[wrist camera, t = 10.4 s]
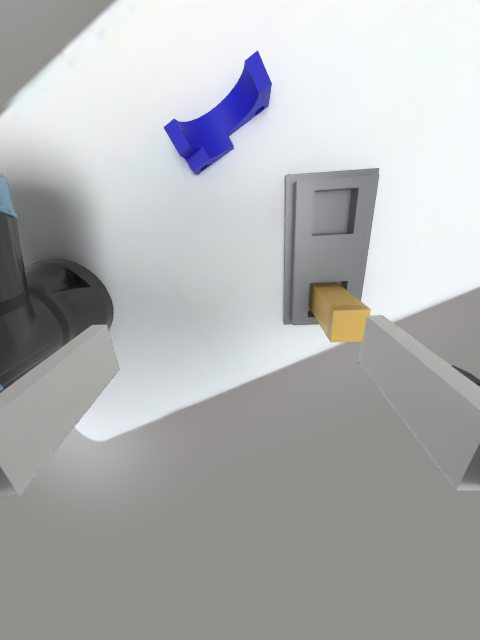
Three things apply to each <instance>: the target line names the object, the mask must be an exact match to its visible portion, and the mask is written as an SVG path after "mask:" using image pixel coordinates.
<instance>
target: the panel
mask: <svg viewBox="0 0 480 640" xmlns="http://www.w3.org/2000/svg"><path fill="white" fill-rule="evenodd" d="M378 174H379V168H376V169H362V170H348V171H334V172H320V173H307V174H293V175H286V182H285V253H284V325H287V324H292V325H313V324H319V323H318V321H317V319H316V318H315V316H314V314H313V313H312V311H311V309H310V308H309V299H310V283H325V282H337V283H338V284H340V285H341V286H342V287H343V288H345V289H346V290H347V291H348V292H350V293H351V294H352V295H353V296H355V297H356V298H357V299H358V300H360V301H361V297H362V290H363V283H364V276H365V269H366V262H367V255H368V249H369V242H370V235H371V228H372V221H373V214H374V207H375V200H376V193H377V186H378V179H379V175H378Z"/></svg>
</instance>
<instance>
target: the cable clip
mask: <svg viewBox="0 0 480 640" xmlns="http://www.w3.org/2000/svg"><path fill="white" fill-rule="evenodd" d="M271 85H272V83H271V81H270V78H269V76H268V74H267V71H266V69H265V67H264V64H263V62H262V59H261V57H260V55H259V52H258V51H256V52H255V53H254V54H253V55H251V56H250V57H249V58H248V59H247V60H245V65H244V69H243V72H242V75H241V77H240V79H239V81H238V82H237V84H236V85H235V87H234V88H233V89H232V91H231V92H230V93H229V94H228V95H227V96H226V98H225V99H224V100H223V101H222V102H221V103H219V104H218V105H217V106H216V107H215V108H213V109H212V110H211V111H209V112H208V113H206V114H205V115H203V116H201V117H199V118H197V119H195V120H192V121H188V122H179V121H177V120H175V119H173V120H172V121H171V122H169V123H168V124H167V125H166V126H165V127H164V129H165V130H166V132H167V134H168V136H169V137H170V139H171V141H172V142H173V144H174V146H175V148H176V149H177V151H178V153H179V154H180V155H181V156H182V157H183V158H184V159H186V161H187V163H188V164H189V166H190V168H191V170H192V171H193V172H194V173H195V174H197V175H198V174H199V173H200V172H202V171H203V170H204V169H206V168H207V167H209V166H210V165H211V164H213V163H214V162H215V161H217V160H218V159H220V158H221V157H222V156H224V155H225V154H226V153H228V152H229V151H231V150H232V149H233V148H234V147H233V144H232V142H231V140H230V138H229V135H231V134H232V133H233V132H235V131H236V130H237V129H239V128H240V127H241V126H243V125H244V124H245V123H247V122H248V121H249V120H251V119H252V118H253V117H255V116H256V115H257V114H259V113H260V112H261V111H263V110H264V109H265V108H267V107H268V105H269V98H270V92H271Z"/></svg>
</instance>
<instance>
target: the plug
mask: <svg viewBox="0 0 480 640" xmlns="http://www.w3.org/2000/svg"><path fill="white" fill-rule="evenodd" d="M309 308H310V309H311V311H312V313H313V314H314V316H315V318H316V319H317V321H318V323H319V324H320V326H321V327H322V329H323V331H324V332H325V334H326V336H327V337H328V339H329V340H330V342H357V341H358V342H359V341H362V340H363V334H364V329H365V323H366V318H367V316H370V311H371V309H370V308H368V307H367V306H366V305H365V304H363V303H362V302H361V301H360V300H358V299H357V298H356V297H355V296H353V295H352V294H351V293H350V292H348V291H347V290H346V289H345V288H343V287H342V286H341V285H340V284H338V283H337V282H325V283H310V299H309Z"/></svg>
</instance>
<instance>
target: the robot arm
mask: <svg viewBox="0 0 480 640" xmlns="http://www.w3.org/2000/svg"><path fill="white" fill-rule="evenodd" d="M16 218H18V215H17V213H16V212H15V211H14V208H13V204H12V200H11V196H10V192H9V187H8V183H7V181H6V179H5V177H4V175H3V174H2V173H1V172H0V496H20V495H21V494H22V492H23V491H24V490H25V488H26V487H27V486H28V485H29V484H30V482H31V481H32V480H33V478H34V477H35V476H36V474H37V473H38V472H39V471H40V470H41V468H42V467H43V466H44V465H45V463H46V462H47V461H48V459H49V458H50V457H51V455H52V454H53V453H54V452H55V451H56V449H57V448H58V447H59V446H60V444H61V443H62V442H63V441H64V439H65V438H66V437H67V435H68V434H69V433H70V431H71V430H72V429H73V428H74V427H75V425H76V424H77V423H78V422H79V420H80V419H81V418H82V416H83V415H84V414H85V413H86V411H87V410H88V409H89V408H90V406H91V405H92V404H93V403H94V401H95V400H96V399H97V398H98V396H99V395H100V394H101V392H102V391H103V390H104V389H105V387H106V386H107V385H108V384H109V382H110V381H111V380H112V379H113V377H114V376H115V375H116V373H117V372H118V371H119V370H120V369H119V366H118V362H117V359H116V355H115V352H114V348H113V345H112V341H111V338H110V334H109V331H108V329H109V327H110V325H111V322H112V318H113V307H112V302H111V299H110V297H109V294H108V292H107V290H106V289H105V287H104V286H103V284H102V283H101V282H100V281H99V280H98V278H97V277H96V276H95V275H93V274H92V273H91V272H90V271H88V270H87V269H85V268H84V267H82V266H80V265H78V264H76V263H73V262H70V261H66V260H47V261H43V262H39V263H35V264H33V265H31V266H29V267H27V268H25V269H24V264H23V258H22V253H21V246H20V240H19V234H18V228H17V221H16ZM359 364H360V366H361V367H362V368H363V370H364V371H365V372H366V373H367V375H368V376H369V377H370V379H371V380H372V381H373V383H374V384H375V385H376V386H377V388H378V389H379V390H380V392H381V393H382V394H383V396H384V397H385V398H386V399H387V401H388V402H389V403H390V405H391V406H392V407H393V409H394V410H395V411H396V413H397V414H398V415H399V416H400V418H401V419H402V420H403V422H404V423H405V424H406V425H407V427H408V428H409V429H410V431H411V432H412V433H413V435H414V436H415V437H416V439H417V440H418V441H419V442H420V444H421V445H422V446H423V448H424V449H425V450H426V452H427V453H428V454H429V456H430V457H431V458H432V459H433V461H434V462H435V463H436V465H437V466H438V467H439V469H440V470H441V471H442V473H443V474H444V475H445V476H446V478H447V479H448V480H449V482H450V483H451V484H452V486H453V487H454V488H455V489H456V490H480V380H479V379H478V378H476V377H475V376H473V375H472V374H470V373H468V372H466V371H464V370H462V369H460V368H458V367H455V366H451V365H449V364H448V363H446V362H445V361H444V360H442V359H441V358H440V357H438V356H437V355H436V354H434V353H433V352H431V351H430V350H429V349H427V348H426V347H425V346H423V345H422V344H421V343H419V342H418V341H417V340H415V339H414V338H412V337H411V336H410V335H408V334H407V333H406V332H404V331H403V330H402V329H400V328H399V327H398V326H396V325H395V324H394V323H392V322H391V321H389V320H388V319H387V318H385V317H384V316H383V315H380V316H367V318H366V323H365V329H364V334H363V340H362V346H361V351H360V357H359Z"/></svg>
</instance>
